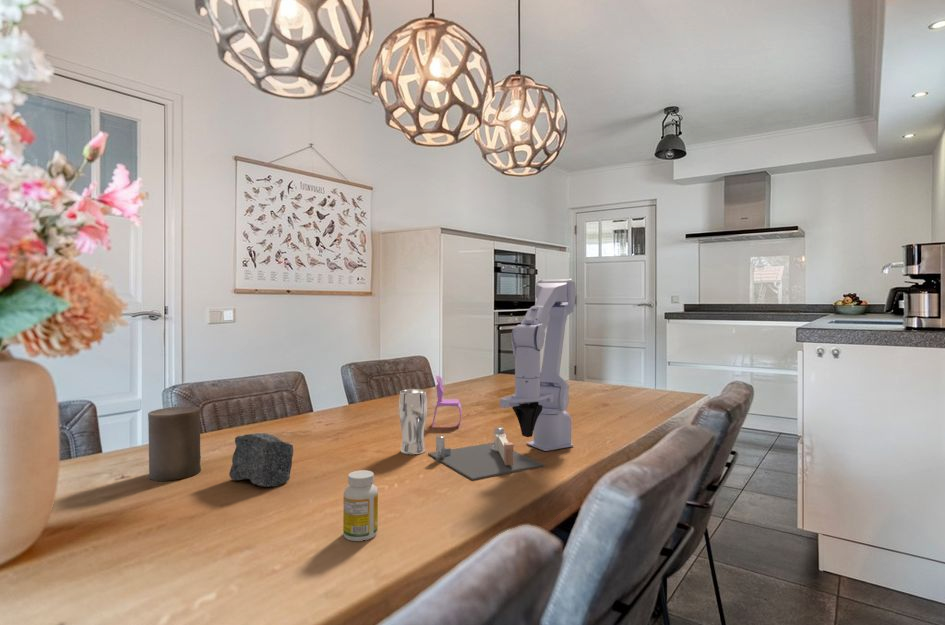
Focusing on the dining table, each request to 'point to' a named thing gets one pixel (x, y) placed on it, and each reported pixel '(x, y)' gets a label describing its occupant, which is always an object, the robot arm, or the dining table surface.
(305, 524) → the dining table surface
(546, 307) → the robot arm
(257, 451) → the stone
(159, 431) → the pillar candle
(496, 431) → the post
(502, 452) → the gate
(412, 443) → the beer glass
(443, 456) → the post
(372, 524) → the supplement bottle
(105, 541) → the dining table surface
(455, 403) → the toy chair
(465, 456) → the mat
